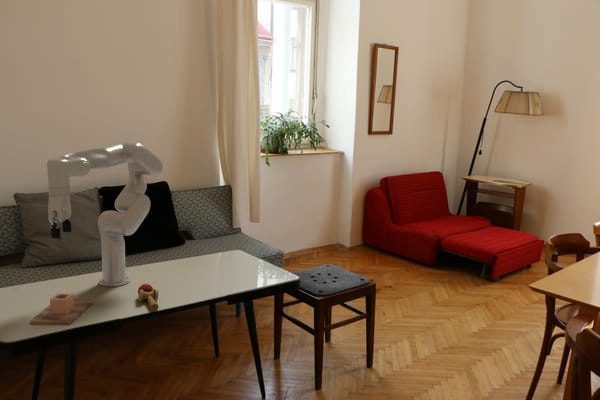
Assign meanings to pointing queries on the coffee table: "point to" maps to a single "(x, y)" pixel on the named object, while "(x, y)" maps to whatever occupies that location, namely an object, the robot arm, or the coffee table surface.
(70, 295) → the collar
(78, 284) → the coffee table surface
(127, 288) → the coffee table surface
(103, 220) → the robot arm
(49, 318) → the post block
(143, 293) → the kendama
